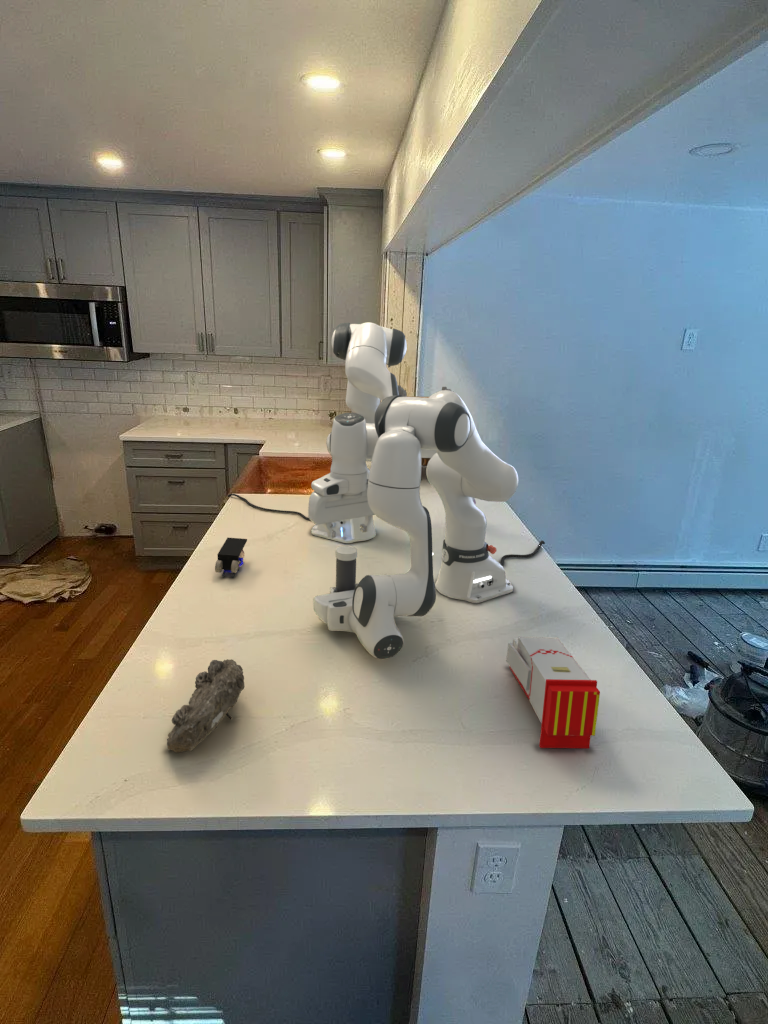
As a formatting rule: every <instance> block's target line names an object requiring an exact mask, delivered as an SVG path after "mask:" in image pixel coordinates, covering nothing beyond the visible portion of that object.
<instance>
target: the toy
mask: <svg viewBox="0 0 768 1024" xmlns="http://www.w3.org/2000/svg"><path fill="white" fill-rule="evenodd" d="M505 659H506V660H505V661H506V663H507V664H508V666H509V667H508V669H510V671H511V673H512V674H513V676H514V678H515V680H516V681H517V683H518V685H519V686H520V688H521V689H522V691H523V693H524V694H525V696H526V698H527V700H529V703H530V705H531V707H532V708H533V711H534V712H535V715H536V716H537V718H538V720H539V722H540V725H541V726H540V736H539V744H538V746H539V748H540V749H590V746H591V736H592V737H595V735H596V731H597V730H596V729H597V722H598V721H597V720H598V714H599V713H598V712H599V703H600V697H601V691H600V690H599V688H598V680H596V679H591V678H590V677H589V675H588V674H587V673H586V672H585V670H584V669H583V668H582V667H581V665H580V664H579V663H578V661H577V660H576V659H575V657H574V656H573V655H572V653H570V650H569V649H568V648H567V647H566V645H564V643H563V642H562V641H561V639H560V638H559V637H548V636H547V637H546V636H545V637H543V636H518V638H517V637H515V638H512V643H511V642H508V646H507V653H506V658H505Z"/></svg>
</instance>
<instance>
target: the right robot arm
mask: <svg viewBox="0 0 768 1024" xmlns="http://www.w3.org/2000/svg"><path fill="white" fill-rule="evenodd" d="M421 397H422V396H418V397H417V396H415V397H404V396H401V395H395V396H389V397H386V398H384V399H383V400H381V401H380V404H379V405H378V407H377V409H376V412H375V418H374V423H375V429H376V432H377V435H378V438H379V439H378V441H377V443H376V446H375V450H374V454H373V457H372V462H370V468H369V470H370V473H369V481H368V491H367V497H368V504H369V507H370V509H371V510H372V512H373V513H374V514H375V515H374V516H376V517H377V518H378V519H379V520H381V521H383V522H384V523H386V524H388V525H390V526H392V527H395V528H396V529H397V528H398V529H400V530H403V531H405V532H406V533H407V535H408V537H409V544H410V546H409V550H410V552H409V553H410V568H409V570H408V571H407V572H404V573H379V574H366V575H364V576H363V577H362V578H361V580H360V581H359V582H358V583H356V588H355V590H350V591H343V592H337V591H338V589H337V588H336V586H332V587H331V586H330V587H329V593H325V594H319V595H318V594H317V595H315V596H314V597H313V599H312V600H313V601H312V608H313V612H314V613H315V615H316V616H317V617H318V619H319V620H320V621H322V622H323V623H324V624H327V625H326V626H327V629H328V630H329V631H330V632H331V631H332V632H334V631H336V632H348V633H349V632H350V633H354V634H355V635H356V637H357V639H358V641H359V642H360V644H361V645H362V646H363V648H364V649H365V650H366V651H367V653H368V654H369V655H371V656H372V657H374V658H376V659H378V660H386V659H390V658H394V657H395V656H396V655H398V654H399V652H401V651H402V649H403V647H404V637H403V635H402V633H401V630H400V629H399V628H398V626H397V624H396V619H395V618H396V617H425V616H426V615H427V614H428V613H429V612H430V611H431V610H432V608H433V607H434V605H435V603H436V600H437V592H438V593H440V594H441V595H443V596H445V597H448V598H449V599H455V600H461V601H465V602H468V603H472V604H480V603H482V602H486V601H489V600H492V599H494V598H498V597H501V596H504V595H507V594H510V593H512V592H513V593H514V586H513V584H512V583H511V581H510V580H509V579H508V578H507V574H506V570H505V567H504V563H505V559H509V558H519V559H523V558H525V559H526V558H527V559H528V558H532V557H534V556H535V555H536V554H537V553H538V551H540V549H541V547H542V546H543V545H545V544H546V542H545V541H544V540H540V541H539V543H538V545H537V547H536V548H535V549H534V551H532V552H530V553H528V554H515V553H513V554H510V553H509V554H505V555H502V557H500V561H498V560H496V559H495V558H494V557H492V556H491V555H495V554H496V552H497V547H495V546H494V545H492V544H491V545H490V544H489V543H488V542H486V533H487V524H488V520H487V517H486V514H485V513H484V512H483V511H482V510H481V509H480V508H479V507H478V506H477V504H476V505H475V504H474V502H473V500H472V498H474V499H475V500H481V501H485V502H494V503H506V502H507V501H509V500H511V499H512V498H513V496H514V495H515V494H516V493H517V490H518V488H519V475H518V472H517V469H516V468H515V467H514V466H512V465H511V464H509V463H508V462H506V461H504V460H503V459H501V458H500V457H499V456H497V455H496V454H495V453H494V452H493V451H492V450H491V449H490V448H489V447H488V446H487V445H486V444H485V443H484V442H483V440H482V439H481V436H480V435H479V432H478V429H477V426H476V423H475V422H474V418H473V416H472V414H471V412H470V410H469V408H468V406H467V405H466V403H465V401H464V400H463V399H462V398H461V396H460V395H459V394H458V393H457V392H455V391H454V392H453V390H451V391H449V390H442V389H441V390H438V391H435V392H434V393H433V394H431V395H430V396H428V397H429V398H425V397H426V396H423V397H424V398H421ZM421 449H428V450H436V451H437V453H435V454H434V455H433V456H432V457H431V458H430V460H429V462H428V464H427V466H426V470H425V474H426V478H427V481H428V483H429V484H430V486H432V487H433V488H434V490H435V491H436V492H437V495H438V496H439V498H440V500H441V503H442V506H443V509H444V514H445V515H444V516H445V530H444V535H445V536H444V539H443V541H442V546H441V547H442V548H441V563H440V564H441V565H440V569H439V573H438V576H437V579H436V581H435V578H434V559H433V557H434V552H433V530H432V518H431V513H430V512H429V510H428V508H427V507H426V506H424V505H423V503H422V500H421V493H420V489H421V482H422V481H421V479H422V466H421V464H422V461H421V451H422V450H421ZM539 545H540V546H539ZM489 553H490V554H491V555H490V554H489Z"/></svg>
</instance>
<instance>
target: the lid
mask: <svg viewBox="0 0 768 1024" xmlns="http://www.w3.org/2000/svg"><path fill="white" fill-rule="evenodd" d="M336 558H337V559H339V560H342V561H351V560H354V559H356V560H357V558H358V548H357V547H356V546H353V545H349V544H348V545H346V544H344V545H339V546H337V547H335V559H336Z"/></svg>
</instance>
